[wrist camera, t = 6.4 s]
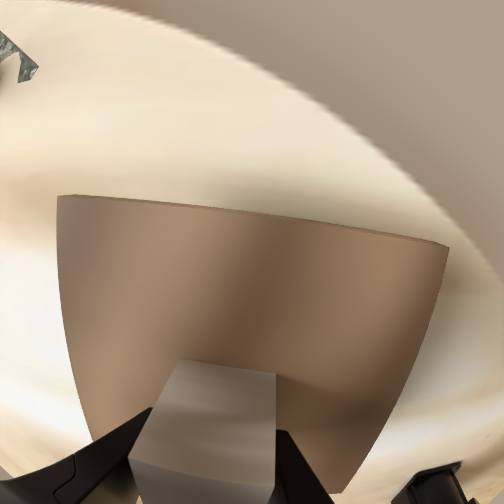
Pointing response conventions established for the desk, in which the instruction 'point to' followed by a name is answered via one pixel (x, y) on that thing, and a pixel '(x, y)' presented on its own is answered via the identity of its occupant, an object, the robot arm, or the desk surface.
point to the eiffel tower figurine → (4, 47)
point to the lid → (238, 338)
